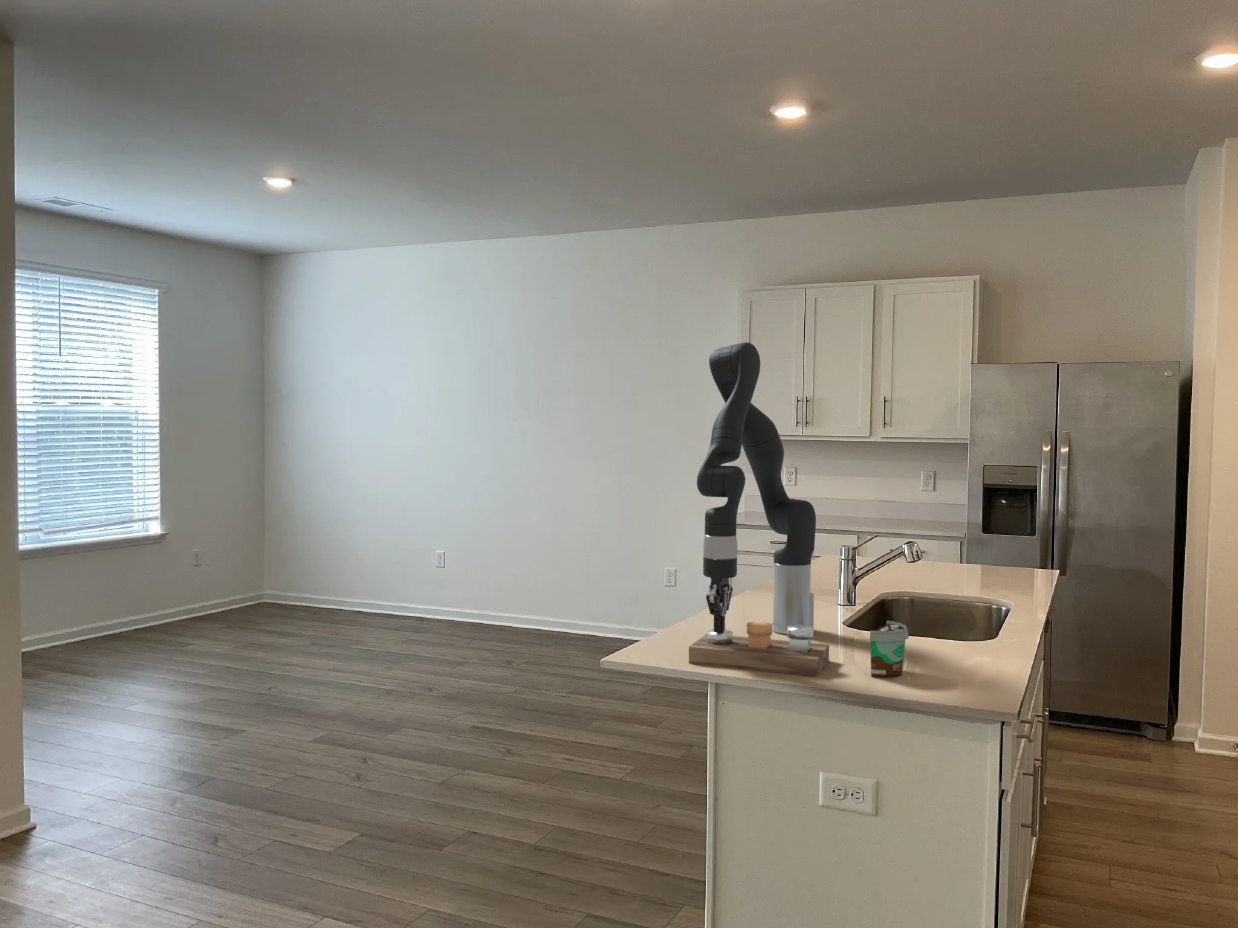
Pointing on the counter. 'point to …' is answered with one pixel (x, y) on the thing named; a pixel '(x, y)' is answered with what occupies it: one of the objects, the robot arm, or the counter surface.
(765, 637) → the knob mid
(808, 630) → the knob
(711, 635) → the knob
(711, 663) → the knob mount
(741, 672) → the counter surface
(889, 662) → the food container
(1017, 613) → the counter surface
